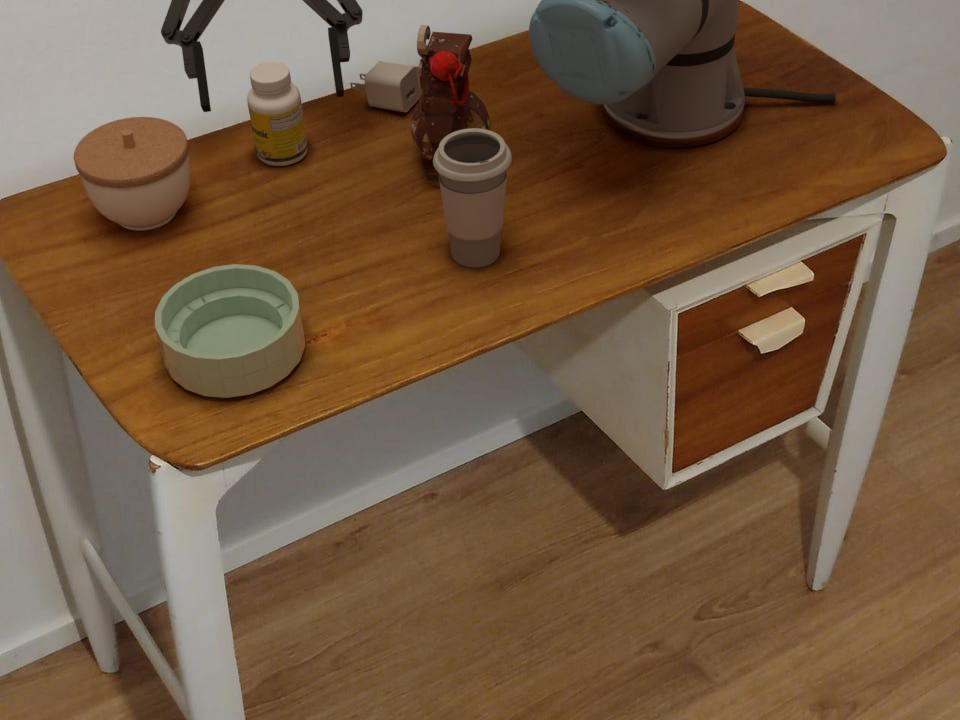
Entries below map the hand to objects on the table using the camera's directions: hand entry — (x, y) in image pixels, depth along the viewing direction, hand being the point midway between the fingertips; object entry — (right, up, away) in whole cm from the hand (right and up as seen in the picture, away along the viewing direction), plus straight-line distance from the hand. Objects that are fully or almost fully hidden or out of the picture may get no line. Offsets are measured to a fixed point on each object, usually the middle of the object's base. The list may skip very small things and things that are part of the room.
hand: (273, 101), depth 132 cm
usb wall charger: (+10, +5, +8) cm, 14 cm away
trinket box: (-12, -12, -2) cm, 17 cm away
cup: (+21, -16, -8) cm, 27 cm away
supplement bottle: (0, -5, +4) cm, 7 cm away
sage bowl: (0, -26, -18) cm, 31 cm away
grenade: (+18, -6, +2) cm, 19 cm away
